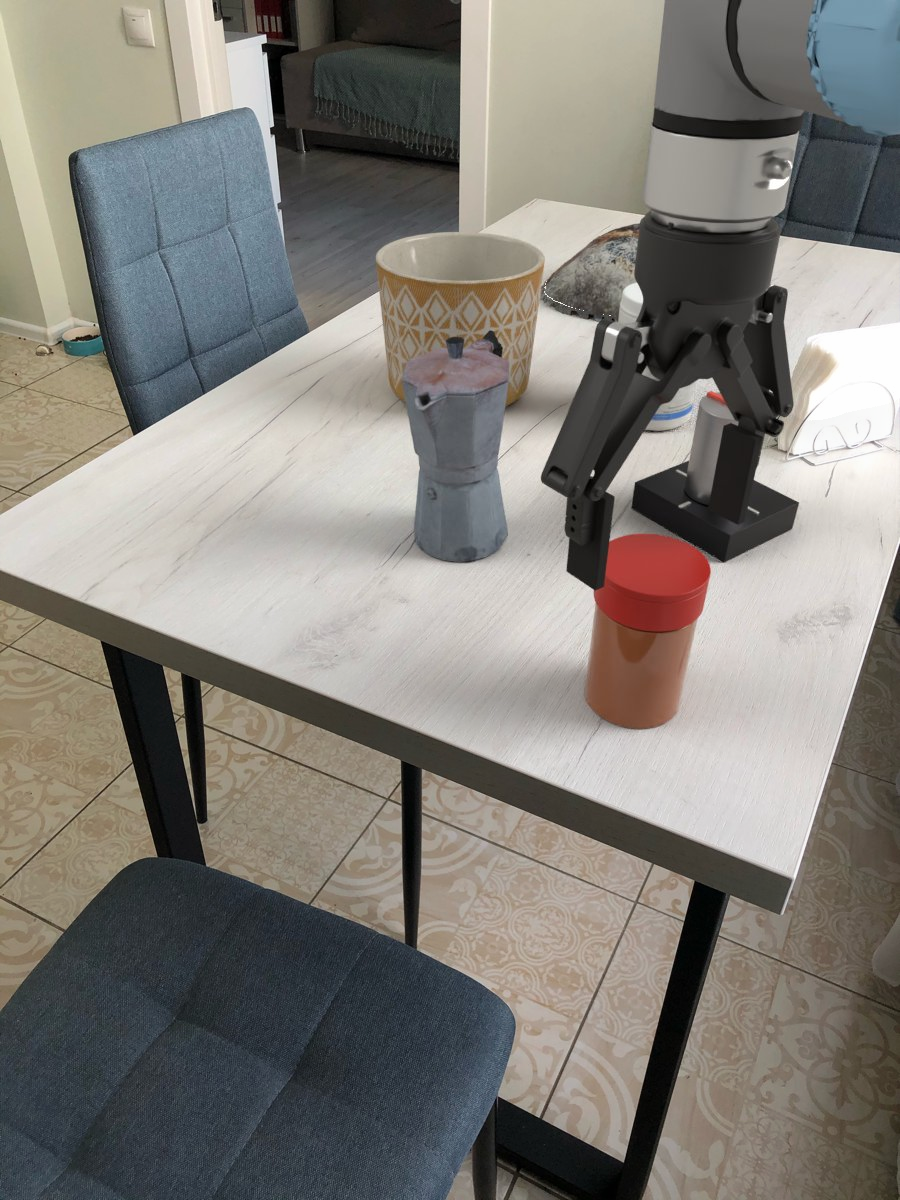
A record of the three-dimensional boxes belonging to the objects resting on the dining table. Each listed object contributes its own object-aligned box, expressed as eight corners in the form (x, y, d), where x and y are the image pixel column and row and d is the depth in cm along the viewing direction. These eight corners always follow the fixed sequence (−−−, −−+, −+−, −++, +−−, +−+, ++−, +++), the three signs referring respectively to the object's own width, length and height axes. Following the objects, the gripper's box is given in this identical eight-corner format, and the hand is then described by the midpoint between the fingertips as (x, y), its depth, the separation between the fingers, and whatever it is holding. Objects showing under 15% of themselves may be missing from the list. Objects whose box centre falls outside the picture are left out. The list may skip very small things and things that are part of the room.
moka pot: (379, 565, 86) (369, 355, 74) (445, 488, 97) (446, 295, 85) (476, 589, 83) (482, 374, 71) (532, 507, 94) (546, 310, 82)
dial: (760, 495, 90) (781, 405, 85) (719, 514, 88) (738, 422, 82) (712, 470, 94) (729, 383, 89) (671, 488, 91) (686, 399, 86)
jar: (699, 703, 71) (727, 579, 64) (632, 743, 68) (653, 616, 61) (631, 654, 76) (650, 533, 69) (565, 688, 72) (578, 565, 65)
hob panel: (793, 528, 91) (800, 500, 89) (723, 563, 86) (729, 534, 85) (699, 479, 99) (704, 452, 97) (630, 508, 94) (634, 480, 92)
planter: (565, 405, 114) (577, 266, 104) (422, 437, 106) (420, 291, 97) (488, 350, 127) (492, 224, 118) (357, 376, 120) (349, 243, 110)
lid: (611, 557, 70) (615, 523, 68) (713, 582, 68) (721, 547, 66) (579, 614, 65) (583, 578, 63) (690, 643, 62) (697, 607, 60)
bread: (770, 328, 135) (785, 257, 129) (544, 324, 136) (548, 253, 130) (729, 269, 157) (741, 206, 151) (535, 266, 158) (538, 204, 152)
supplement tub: (700, 410, 113) (722, 287, 104) (674, 441, 106) (695, 313, 97) (624, 393, 117) (640, 273, 108) (595, 422, 110) (608, 297, 101)
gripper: (590, 270, 42) (557, 640, 55) (905, 196, 54) (820, 513, 67) (487, 234, 47) (478, 581, 60) (797, 173, 59) (736, 473, 72)
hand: (659, 546), depth 63 cm, fingers open, 13 cm apart
